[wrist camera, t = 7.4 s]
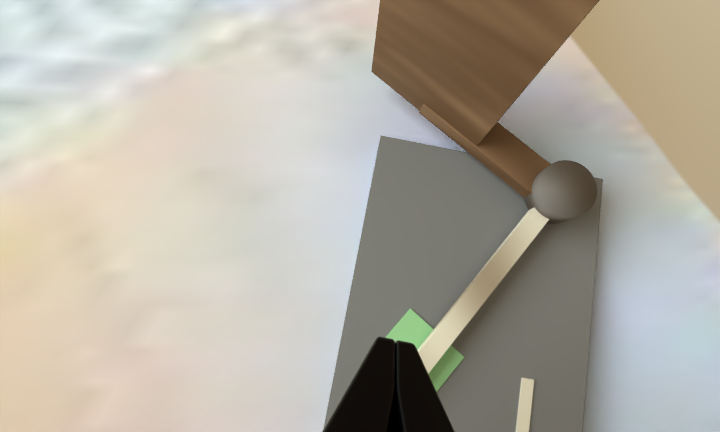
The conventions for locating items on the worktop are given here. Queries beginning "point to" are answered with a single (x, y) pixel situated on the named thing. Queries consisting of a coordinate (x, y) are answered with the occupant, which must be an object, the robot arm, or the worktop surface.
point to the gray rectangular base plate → (454, 274)
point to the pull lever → (484, 111)
